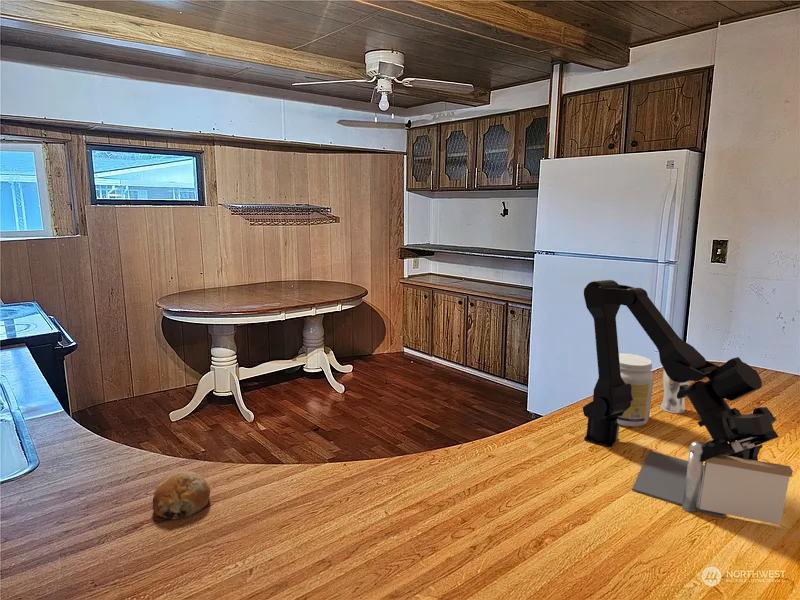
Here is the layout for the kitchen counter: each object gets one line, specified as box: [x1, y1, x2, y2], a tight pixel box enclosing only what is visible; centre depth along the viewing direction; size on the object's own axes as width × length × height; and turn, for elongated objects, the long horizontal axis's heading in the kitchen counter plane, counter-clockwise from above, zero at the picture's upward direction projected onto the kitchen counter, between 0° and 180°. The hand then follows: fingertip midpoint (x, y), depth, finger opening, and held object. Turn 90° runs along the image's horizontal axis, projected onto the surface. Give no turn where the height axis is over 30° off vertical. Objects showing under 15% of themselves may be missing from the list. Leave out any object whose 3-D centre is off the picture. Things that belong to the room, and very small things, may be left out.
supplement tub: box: [617, 352, 655, 428], centre depth 140 cm, size 12×12×17 cm
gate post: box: [681, 440, 704, 514], centre depth 99 cm, size 3×3×14 cm
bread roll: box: [152, 470, 211, 520], centre depth 98 cm, size 10×10×8 cm
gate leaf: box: [699, 455, 793, 526], centre depth 97 cm, size 13×2×11 cm, turn 70°
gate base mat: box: [631, 450, 725, 519], centre depth 110 cm, size 16×20×1 cm
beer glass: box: [660, 369, 691, 415], centre depth 147 cm, size 7×7×15 cm
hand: (760, 488), depth 97 cm, fingers closed
